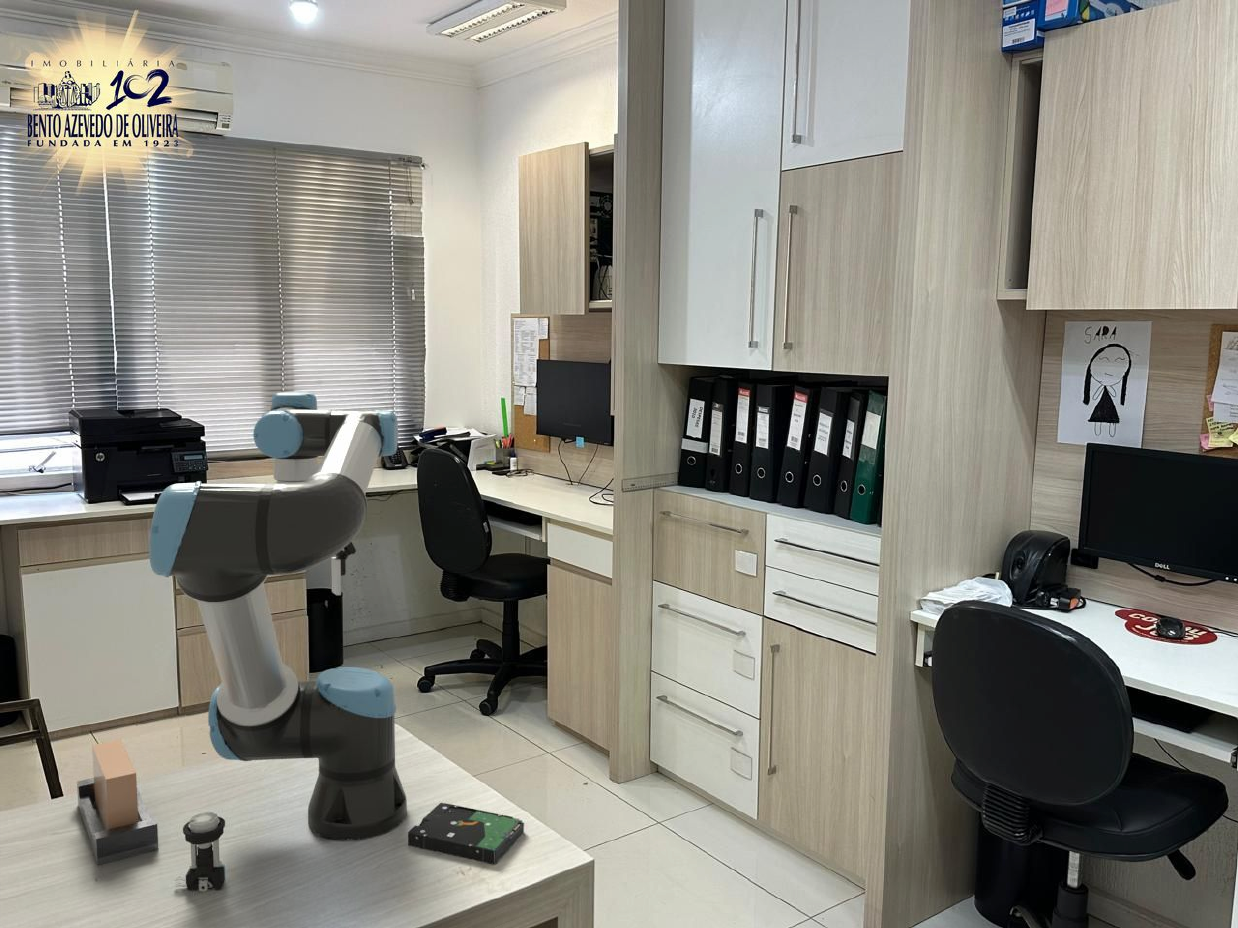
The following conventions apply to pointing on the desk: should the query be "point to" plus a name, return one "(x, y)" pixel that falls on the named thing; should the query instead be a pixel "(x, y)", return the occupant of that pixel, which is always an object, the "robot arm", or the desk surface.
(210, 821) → the push button
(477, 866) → the desk surface
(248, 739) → the robot arm
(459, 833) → the disk drive
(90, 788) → the dark grey tray
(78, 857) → the desk surface
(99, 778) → the orange rectangular block
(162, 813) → the desk surface
